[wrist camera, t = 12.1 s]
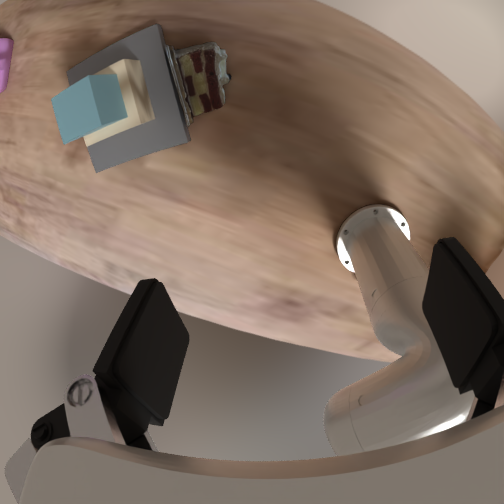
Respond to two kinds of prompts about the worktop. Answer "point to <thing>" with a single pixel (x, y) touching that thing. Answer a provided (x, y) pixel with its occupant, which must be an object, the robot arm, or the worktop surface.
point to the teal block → (88, 106)
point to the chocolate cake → (199, 77)
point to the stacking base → (158, 94)
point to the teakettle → (5, 61)
